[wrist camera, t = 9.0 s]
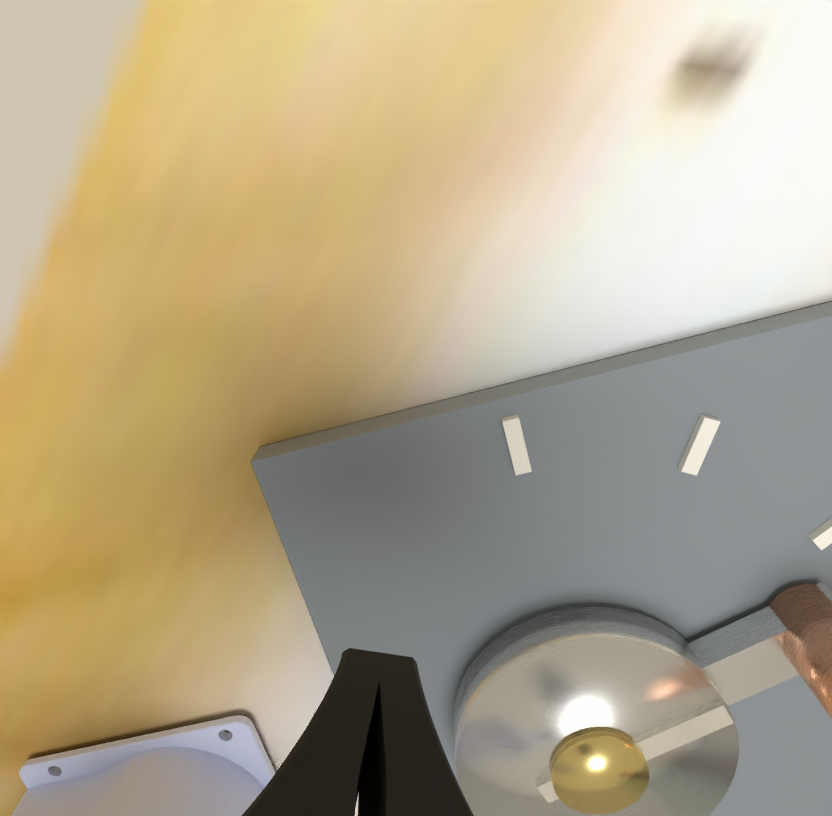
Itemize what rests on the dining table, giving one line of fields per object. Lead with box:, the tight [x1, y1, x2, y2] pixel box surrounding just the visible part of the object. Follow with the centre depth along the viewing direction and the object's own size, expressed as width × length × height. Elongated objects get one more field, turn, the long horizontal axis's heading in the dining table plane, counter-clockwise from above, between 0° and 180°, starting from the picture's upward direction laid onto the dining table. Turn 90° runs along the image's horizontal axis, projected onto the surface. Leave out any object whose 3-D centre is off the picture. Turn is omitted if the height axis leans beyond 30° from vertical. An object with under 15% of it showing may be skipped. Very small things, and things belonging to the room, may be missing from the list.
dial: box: [453, 582, 832, 816], centre depth 21 cm, size 14×9×6 cm, turn 122°
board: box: [251, 301, 832, 816], centre depth 24 cm, size 20×22×2 cm
